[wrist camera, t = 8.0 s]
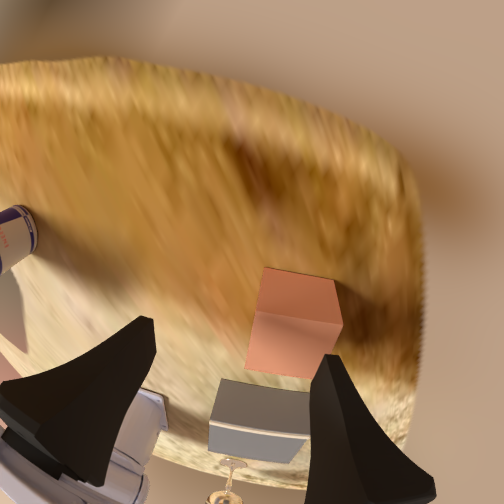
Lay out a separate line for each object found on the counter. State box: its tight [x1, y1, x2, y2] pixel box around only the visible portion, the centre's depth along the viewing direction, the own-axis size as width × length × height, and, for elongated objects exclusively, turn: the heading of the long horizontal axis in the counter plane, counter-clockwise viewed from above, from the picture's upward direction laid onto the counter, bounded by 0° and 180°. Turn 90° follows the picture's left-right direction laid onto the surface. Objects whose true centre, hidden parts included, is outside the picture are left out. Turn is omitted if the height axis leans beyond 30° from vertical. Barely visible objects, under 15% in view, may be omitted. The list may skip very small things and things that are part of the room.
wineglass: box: [205, 459, 247, 504], centre depth 31 cm, size 6×6×12 cm
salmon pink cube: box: [244, 267, 343, 379], centre depth 18 cm, size 5×5×5 cm
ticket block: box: [208, 379, 310, 464], centre depth 25 cm, size 8×9×5 cm
